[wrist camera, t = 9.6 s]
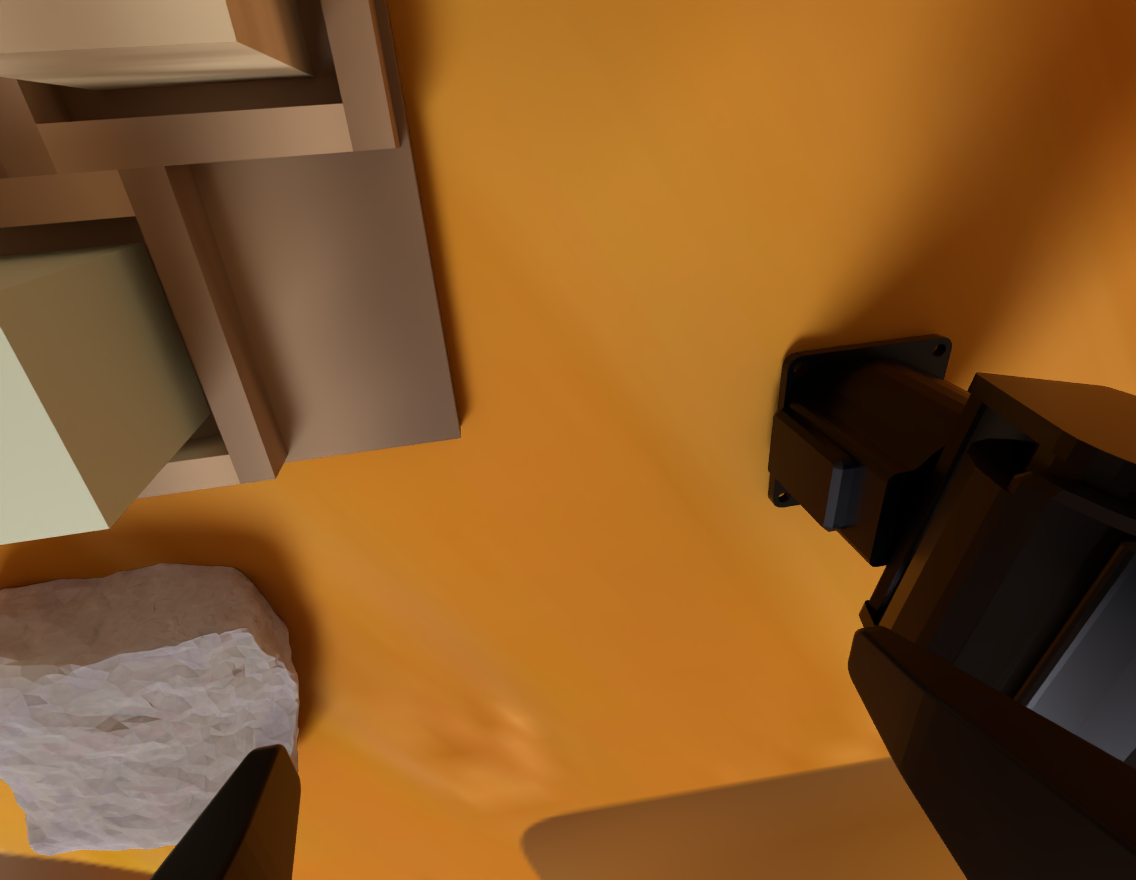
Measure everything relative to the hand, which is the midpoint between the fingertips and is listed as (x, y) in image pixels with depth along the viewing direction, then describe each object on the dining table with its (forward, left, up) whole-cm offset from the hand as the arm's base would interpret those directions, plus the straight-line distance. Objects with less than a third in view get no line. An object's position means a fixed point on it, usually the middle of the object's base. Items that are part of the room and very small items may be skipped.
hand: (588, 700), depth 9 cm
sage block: (+12, -3, -12) cm, 17 cm away
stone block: (+14, +11, -13) cm, 22 cm away
